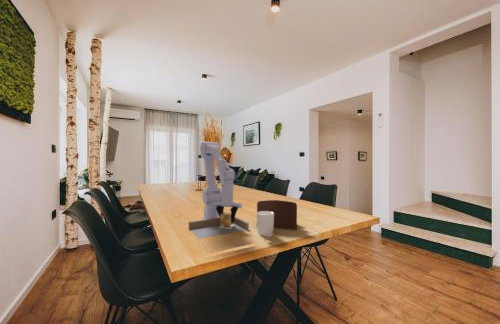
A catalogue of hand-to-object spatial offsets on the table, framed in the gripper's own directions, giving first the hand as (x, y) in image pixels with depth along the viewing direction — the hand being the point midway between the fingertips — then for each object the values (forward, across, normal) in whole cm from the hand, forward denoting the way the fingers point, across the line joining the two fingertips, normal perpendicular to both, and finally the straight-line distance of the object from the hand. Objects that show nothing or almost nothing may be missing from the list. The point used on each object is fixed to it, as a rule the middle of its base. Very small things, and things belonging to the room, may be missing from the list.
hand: (227, 221), depth 106 cm
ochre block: (+1, 0, 0) cm, 1 cm away
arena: (+3, -3, -4) cm, 6 cm away
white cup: (+4, +20, -4) cm, 21 cm away
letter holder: (+4, +23, +11) cm, 26 cm away
